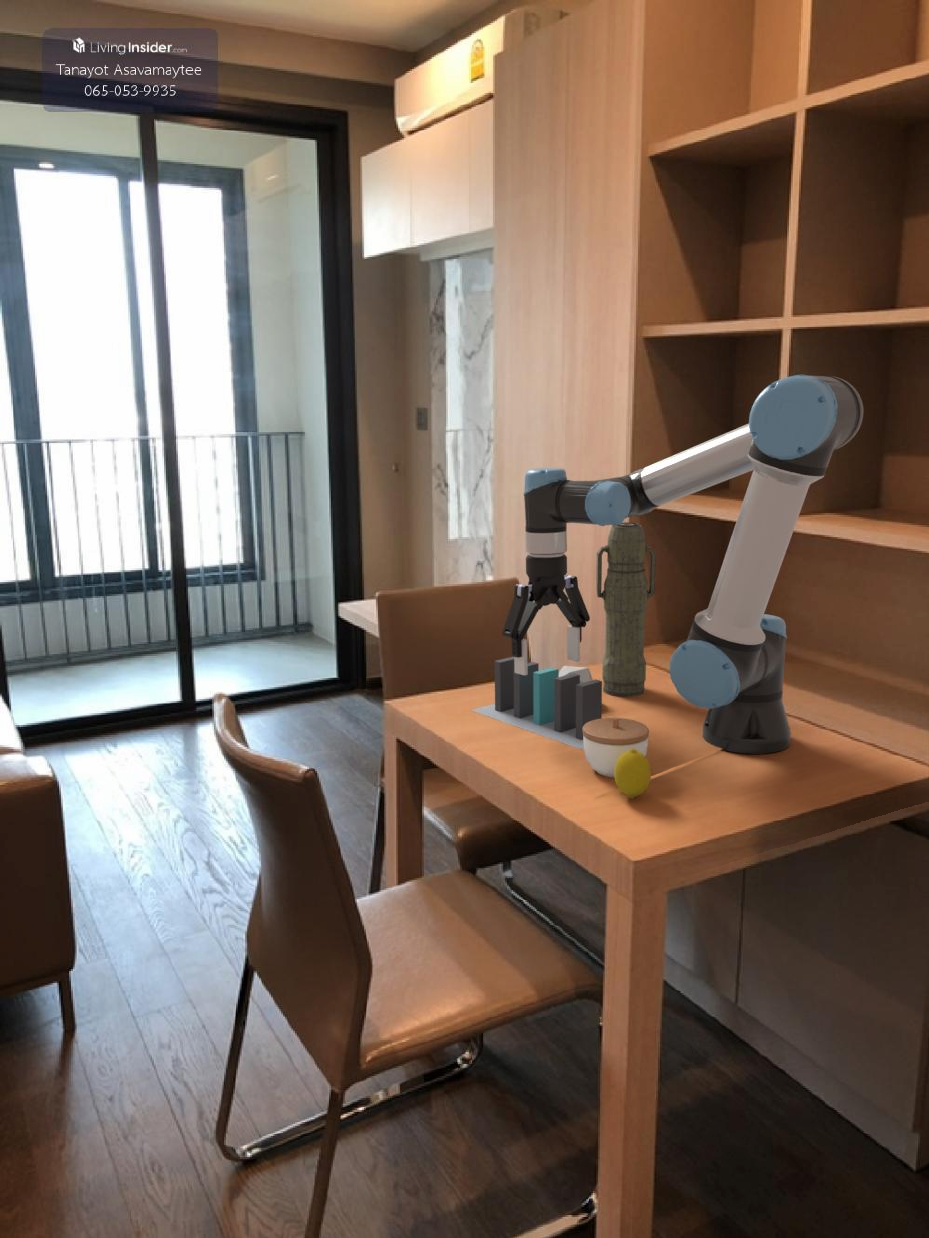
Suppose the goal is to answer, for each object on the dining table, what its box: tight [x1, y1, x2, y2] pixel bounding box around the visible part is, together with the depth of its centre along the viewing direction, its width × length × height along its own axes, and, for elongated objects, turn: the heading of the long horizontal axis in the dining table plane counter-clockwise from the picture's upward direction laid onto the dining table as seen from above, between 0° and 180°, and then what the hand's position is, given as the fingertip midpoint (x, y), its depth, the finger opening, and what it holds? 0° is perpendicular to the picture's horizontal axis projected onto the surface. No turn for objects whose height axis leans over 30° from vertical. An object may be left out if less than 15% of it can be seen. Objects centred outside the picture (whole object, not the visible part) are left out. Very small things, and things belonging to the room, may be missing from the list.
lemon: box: [613, 749, 652, 799], centre depth 154 cm, size 6×6×8 cm
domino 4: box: [576, 679, 603, 740], centre depth 181 cm, size 2×5×10 cm, turn 130°
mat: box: [470, 703, 584, 750], centre depth 190 cm, size 30×12×1 cm, turn 40°
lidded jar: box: [582, 717, 650, 778], centre depth 165 cm, size 11×11×9 cm
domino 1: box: [494, 656, 514, 712], centre depth 198 cm, size 2×5×10 cm, turn 130°
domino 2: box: [514, 661, 540, 719], centre depth 193 cm, size 2×5×10 cm, turn 129°
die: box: [559, 665, 594, 683], centre depth 200 cm, size 8×9×10 cm
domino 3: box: [554, 673, 580, 733], centre depth 185 cm, size 2×5×10 cm, turn 130°
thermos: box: [595, 521, 657, 698], centre depth 207 cm, size 9×12×35 cm
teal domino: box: [533, 667, 560, 725], centre depth 189 cm, size 2×5×10 cm, turn 129°
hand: (547, 667), depth 188 cm, fingers open, 13 cm apart
